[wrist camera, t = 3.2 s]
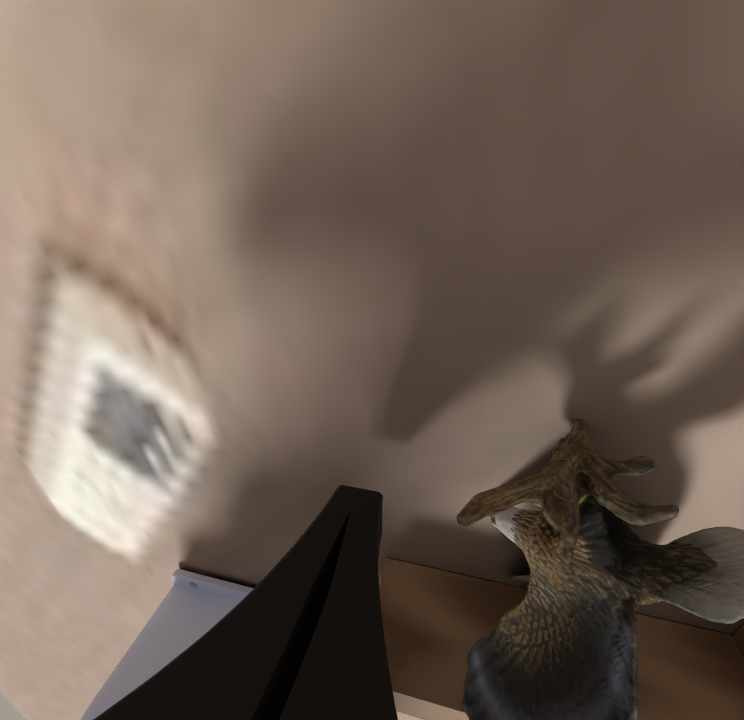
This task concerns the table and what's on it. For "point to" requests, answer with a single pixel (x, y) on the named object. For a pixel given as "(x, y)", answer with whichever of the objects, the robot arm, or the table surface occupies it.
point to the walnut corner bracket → (482, 614)
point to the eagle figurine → (588, 589)
